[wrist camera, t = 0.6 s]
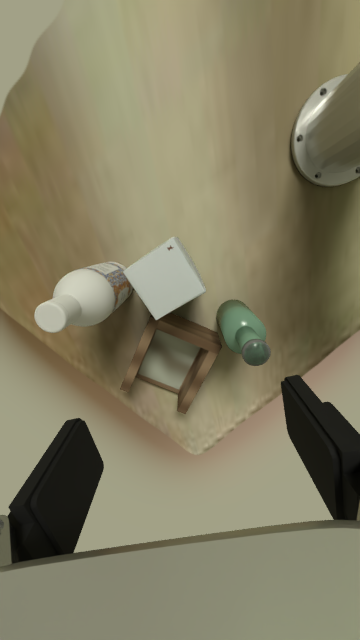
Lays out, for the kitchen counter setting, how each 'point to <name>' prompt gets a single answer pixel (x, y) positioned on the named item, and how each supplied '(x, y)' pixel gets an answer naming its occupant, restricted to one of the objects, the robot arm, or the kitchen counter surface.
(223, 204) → the kitchen counter surface
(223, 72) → the kitchen counter surface
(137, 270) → the supplement box
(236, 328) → the green bottle
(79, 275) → the bath foam
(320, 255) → the kitchen counter surface
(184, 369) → the walnut U-rest
